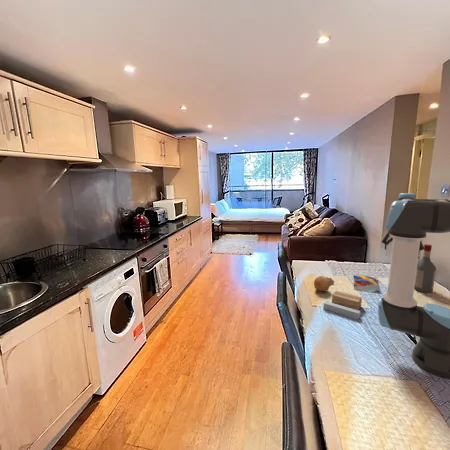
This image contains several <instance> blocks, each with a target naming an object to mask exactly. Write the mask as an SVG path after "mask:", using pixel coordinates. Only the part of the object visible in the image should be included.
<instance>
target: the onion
mask: <svg viewBox="0 0 450 450" xmlns="http://www.w3.org/2000/svg"><path fill="white" fill-rule="evenodd" d="M313 286H314V288H315V289H316V290H317V291H319V292H323V293H324V292H326V291H328V290H329V289H330V287H329V286H331V285H330V283H329V280H328V279H327V277H326V276H324V275H320V276H317V277H315V279H314V281H313Z"/></svg>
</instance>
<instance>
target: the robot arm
mask: <svg viewBox="0 0 450 450" xmlns="http://www.w3.org/2000/svg"><path fill="white" fill-rule="evenodd" d="M385 230H387V231H388V232H386V235H385V236H384V237H383V239H382V240H381V243H382V244H384V250H385V256H387V257H388V256H390V264H389V265H390V266H389V267H390V268H389V274H388V275H389V276H388V285H387V286H388V287H387V292H386V293H384V294H382V297H379V298H378V302H377V305H378V307H377V309H378V310H377V312H378V314H377V315H378V323H379V325H380V326H381V327H383V328H386V329H390V330H392V331H396V332H400V333H403V334H407V335H412V336H415V337H419V340H418V341H417V343H416V344H415V346H414V347H413V348H412V352H411V357H412V360H413V362H414V363H415V364H416V365H418V366H419V367H420V368H421V369H423V370H424V371H426V372H428V373H430V374H433V375H434V376H437V377H441V378H445V379H450V308H448V307H447V306H445V305H444V306H443V305H441V304H437V303H432V302H431V303H425V304H423V306H419V305H418V301H417V300H416V299H415V298H414V294H415V293H414V292H415V289H414V286H415V278H416V270H417V262H418V261H419V255H420V251H424V244H423V242H422V241H423V240H424V239H425V238H427V233H431V234H447V233H450V199H448V198H445V199H443V198H442V199H437V198H436V199H435V198H433V199H432V198H430V199H428V198H416V193H413V192H412V193H410V192H409V193H408V192H403V193H399V194H398V199H397V200H394V201H392V203H391V204H390V208H389V211H388V215H387V220H386V224H385ZM391 242H392V244H391ZM391 245H392V246H391ZM390 251H391V253H390ZM390 254H391V255H390Z"/></svg>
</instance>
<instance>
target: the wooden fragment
mask: <svg viewBox="0 0 450 450" xmlns="http://www.w3.org/2000/svg"><path fill="white" fill-rule="evenodd" d="M328 277H329V276H328ZM328 277H326V278H327V279H328V280H329V283H330V286H333V285H334V283H335V281H334V279H333V278H332V277H331V278H328ZM330 286H329V288H330Z"/></svg>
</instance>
